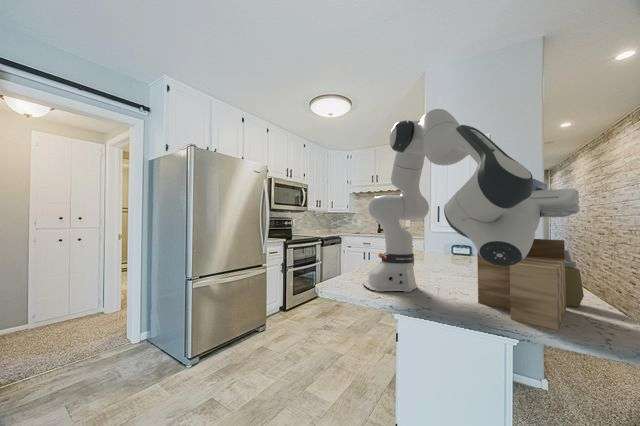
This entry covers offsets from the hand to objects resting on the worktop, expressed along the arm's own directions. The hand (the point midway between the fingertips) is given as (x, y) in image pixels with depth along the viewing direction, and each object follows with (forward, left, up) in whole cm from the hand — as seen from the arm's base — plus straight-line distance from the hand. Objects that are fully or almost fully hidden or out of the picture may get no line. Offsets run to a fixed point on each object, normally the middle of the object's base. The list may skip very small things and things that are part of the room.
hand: (526, 188), depth 68 cm
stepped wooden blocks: (+10, +14, -37) cm, 41 cm away
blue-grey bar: (+5, +3, -3) cm, 6 cm away
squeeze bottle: (+30, +16, -37) cm, 50 cm away
